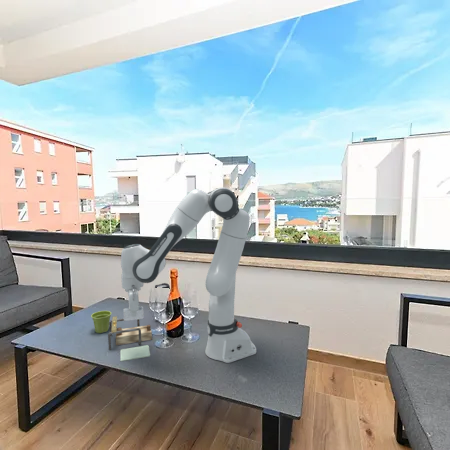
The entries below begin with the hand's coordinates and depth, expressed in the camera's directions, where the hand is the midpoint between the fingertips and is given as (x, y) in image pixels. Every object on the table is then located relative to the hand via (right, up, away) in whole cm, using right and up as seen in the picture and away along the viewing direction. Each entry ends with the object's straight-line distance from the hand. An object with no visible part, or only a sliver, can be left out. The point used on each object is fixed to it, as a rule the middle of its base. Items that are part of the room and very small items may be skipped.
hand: (133, 313), depth 124 cm
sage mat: (0, -18, +2) cm, 18 cm away
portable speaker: (+5, -15, +36) cm, 39 cm away
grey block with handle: (0, -2, 0) cm, 2 cm away
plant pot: (-23, -16, +23) cm, 37 cm away
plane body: (-6, -17, +15) cm, 23 cm away
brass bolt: (-13, -9, +11) cm, 19 cm away
